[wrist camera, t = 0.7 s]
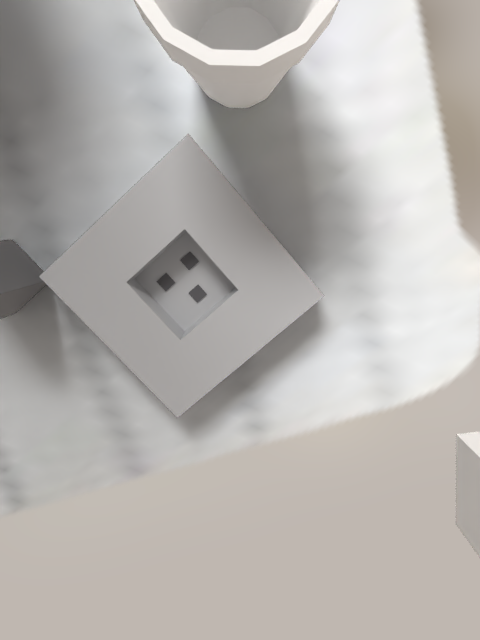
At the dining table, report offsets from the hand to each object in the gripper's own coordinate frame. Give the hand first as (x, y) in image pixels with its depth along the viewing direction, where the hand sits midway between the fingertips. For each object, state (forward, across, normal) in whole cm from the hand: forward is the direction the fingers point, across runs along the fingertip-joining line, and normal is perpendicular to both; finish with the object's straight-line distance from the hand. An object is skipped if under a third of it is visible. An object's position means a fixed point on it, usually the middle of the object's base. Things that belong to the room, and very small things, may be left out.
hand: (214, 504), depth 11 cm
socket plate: (+23, -3, +3) cm, 23 cm away
